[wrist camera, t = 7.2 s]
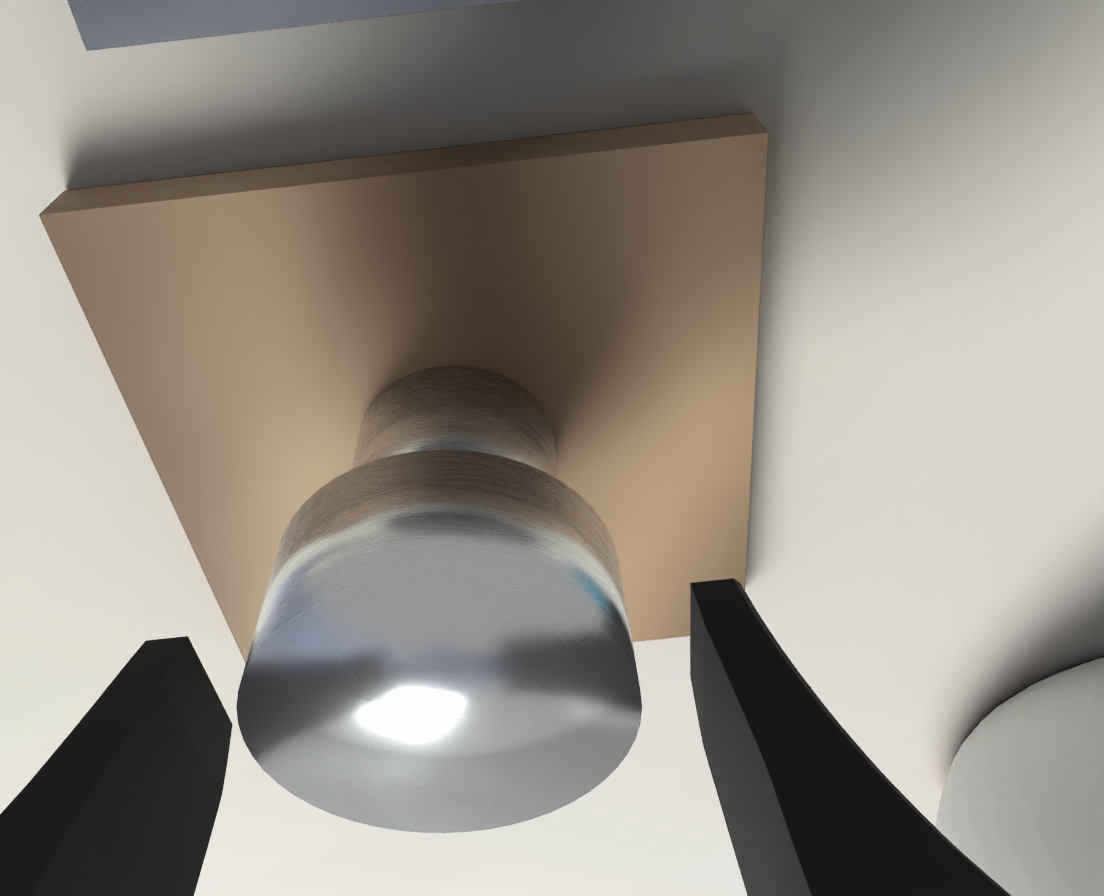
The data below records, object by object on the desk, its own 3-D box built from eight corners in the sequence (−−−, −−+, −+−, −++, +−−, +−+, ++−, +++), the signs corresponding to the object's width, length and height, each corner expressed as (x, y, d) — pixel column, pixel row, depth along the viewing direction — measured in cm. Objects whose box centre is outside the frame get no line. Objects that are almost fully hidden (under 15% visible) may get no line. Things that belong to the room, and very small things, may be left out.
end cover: (344, 562, 18) (291, 846, 13) (282, 337, 15) (181, 601, 10) (601, 540, 18) (641, 816, 13) (593, 312, 15) (641, 562, 10)
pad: (263, 647, 21) (254, 681, 20) (64, 190, 14) (39, 215, 13) (733, 597, 21) (742, 630, 20) (752, 112, 14) (768, 132, 13)
